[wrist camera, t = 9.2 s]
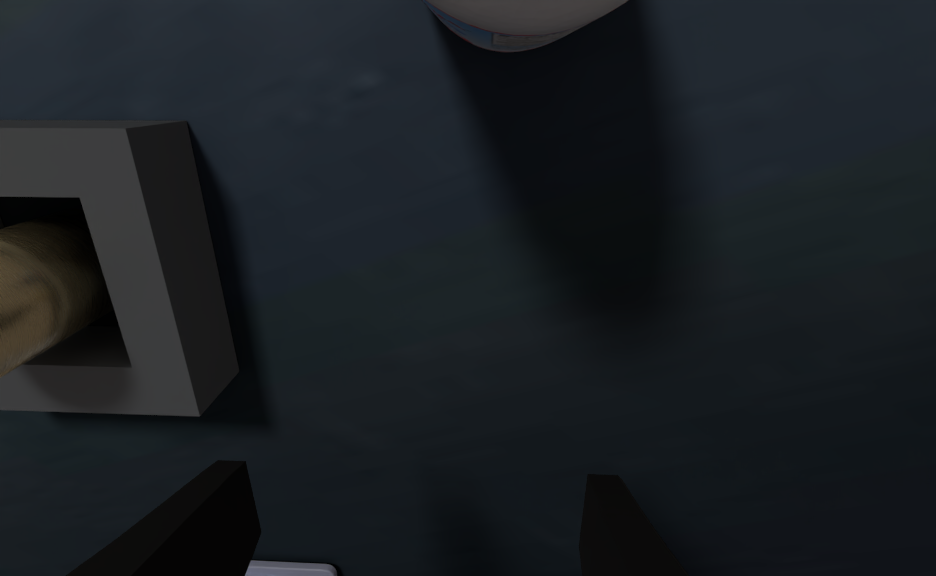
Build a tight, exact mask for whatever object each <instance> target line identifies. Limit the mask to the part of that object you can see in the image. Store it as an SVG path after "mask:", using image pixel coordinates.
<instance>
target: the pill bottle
mask: <svg viewBox="0 0 936 576" xmlns="http://www.w3.org/2000/svg"><path fill="white" fill-rule="evenodd" d="M422 1H423V2H424V3H425V4H426V5H427V7H428V8H429V9H430V10H431V11H432V12H433V13H434V14H435V15H436V16H437V17H438V18H439V20H441V21H442V23H443V24H444V25H446V26H447V27H448V28H449V29H450V30H451V31H452V32H454V33H455V34H456V35H457V36H459V37H461V38H462V39H464V40H465V41H467V42H469V43H471V44H473V45H476V46H478V47H480V48H484V49H487V50H492V51H498V52H519V51H525V50H530V49H534V48H538V47H541V46H544V45H547V44H549V43H552V42H554V41H556V40H558V39H560V38H562V37H564V36H566V35H568V34H570V33H572V32H574V31H576V30H577V29H579V28H581V27H583V26H585V25H587V24H589V23H591V22H592V21H595V20H596V19H598V18H600V17H602V16H604V15H606V14H607V13H609V12H611V11H613V10H615V9H616V8H618V7H619V6H621V5H622V4H624V3H625V2H627V1H628V0H422Z"/></svg>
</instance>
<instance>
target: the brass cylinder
mask: <svg viewBox="0 0 936 576" xmlns="http://www.w3.org/2000/svg"><path fill="white" fill-rule="evenodd" d="M113 310H114V307H113V304H112V301H111V298H110V294H109V291H108V288H107V285H106V281H105V278H104V275H103V272H102V269H101V265H100V262H99V259H98V256H97V252H96V249H95V246H94V243H93V239H92V236H91V233H90V230H89V227H88V223H87V220H86V217H85V214H84V210H82V209H67V210H63V211H59V212H56V213H53V214H49V215H46V216H43V217H39V218H36V219H33V220H29V221H26V222H23V223H19V224H16V225H13V226H9V227H6V228H3V229H0V378H1V377H2V376H4V375H6V374H7V373H9V372H11V371H12V370H14V369H16V368H17V367H19V366H21V365H22V364H24V363H26V362H27V361H29V360H31V359H32V358H34V357H36V356H37V355H39V354H41V353H42V352H44V351H46V350H47V349H49V348H51V347H52V346H54V345H56V344H57V343H59V342H61V341H62V340H64V339H66V338H67V337H69V336H71V335H72V334H74V333H76V332H77V331H79V330H81V329H82V328H84V327H86V326H87V325H89V324H91V323H92V322H94V321H96V320H97V319H99V318H101V317H103V316H104V315H106V314H108V313H109V312H111V311H113Z"/></svg>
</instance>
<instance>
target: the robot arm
mask: <svg viewBox="0 0 936 576" xmlns="http://www.w3.org/2000/svg"><path fill="white" fill-rule="evenodd" d="M260 534H261V528H260V524H259V519H258V515H257V510H256V506H255V501H254V497H253V492H252V488H251V483H250V479H249V475H248V470H247V466H246V461H222V460H218V461H216V462H215V463H214V464H212V465H211V466H209V467H208V468H207V469H205V470H204V471H203V472H202V473H200V474H199V475H198V476H196V477H195V478H194V479H192V480H191V481H190V482H189V483H187V484H186V485H185V486H184V487H182V488H181V489H180V490H179V491H177V492H176V493H175V494H173V495H172V496H171V497H170V498H168V499H167V500H166V501H165V502H163V503H162V504H161V505H160V506H158V507H157V508H156V509H154V510H153V511H152V512H151V513H149V514H148V515H147V516H145V517H144V518H143V519H141V520H140V521H139V522H138V523H136V524H135V525H134V526H132V527H131V528H130V529H129V530H127V531H126V532H125V533H123V534H122V535H121V536H120V537H118V538H117V539H116V540H114V541H113V542H112V543H110V544H109V545H107V546H106V547H105V548H103V549H102V550H101V551H99V552H98V553H96V554H95V555H94V556H92V557H91V558H89V559H88V560H87V561H85V562H84V563H83V564H81V565H80V566H78V567H77V568H76V569H74V570H73V571H72V572H70V573H69V574H67V575H66V576H337V571H336V569H335V568H334V567H333V566H332V565H329V564H318V563H297V562H276V561H255V560H251V559H252V556H253V554H254V551H255V548H256V545H257V543H258V540H259V537H260ZM579 551H580V559H581V568H582V576H689V575H688V574H687V572H686V571H685V570H684V568H683V567H682V566H681V564H680V563H679V562H678V560H677V559H676V558H675V556H674V555H673V554H672V552H671V551H670V550H669V548H668V547H667V546H666V544H665V543H664V541H663V540H662V539H661V537H660V536H659V534H658V533H657V532H656V530H655V529H654V527H653V526H652V524H651V523H650V521H649V520H648V519H647V517H646V516H645V514H644V513H643V511H642V510H641V508H640V507H639V505H638V504H637V502H636V501H635V499H634V498H633V496H632V494H631V493H630V491H629V490H628V488H627V487H626V485H625V483H624V482H623V480H622V479H621V478H620V477H619V476H618V475H595V474H588V476H587V484H586V492H585V500H584V509H583V517H582V525H581V533H580V542H579Z"/></svg>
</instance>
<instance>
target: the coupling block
mask: <svg viewBox="0 0 936 576" xmlns="http://www.w3.org/2000/svg"><path fill="white" fill-rule="evenodd" d="M0 197H79V198H80V201H81V204H82V207H83V210H84V214H85V217H86V220H87V223H88V227H89V230H90V233H91V236H92V239H93V243H94V246H95V249H96V252H97V256H98V259H99V262H100V265H101V269H102V272H103V275H104V278H105V281H106V285H107V288H108V291H109V294H110V298H111V301H112V304H113V307H114V311H115V314H116V317H117V320H118V324H119V327H117V326H86V327H84V328H82V329H81V330H79V331H77V332H76V333H74V334H72V335H71V336H69V337H67V338H66V339H64V340H62V341H61V342H59V343H57V344H56V345H54V346H52V347H51V348H49V349H47V350H46V351H44V352H42V353H41V354H39V355H37V356H36V357H34V358H32V359H31V360H29V361H27V362H26V363H24V364H22V365H21V366H19V367H17V368H16V369H14V370H12V371H11V372H9V373H7V374H6V375H4V376H2V377H1V378H0V410H19V411H49V412H80V413H110V414H140V415H170V416H201V415H202V414H203V412H204V411H205V410H206V409H207V408H208V407H209V406H210V404H211V403H212V402H213V401H214V400H215V399H216V398H217V397H218V395H219V394H220V393H221V392H222V391H223V390H224V389H225V387H226V386H227V385H228V384H229V383H230V382H231V381H232V379H233V378H234V377H235V376H236V375H237V374H238V373H239V367H238V362H237V358H236V353H235V348H234V344H233V339H232V334H231V329H230V325H229V320H228V315H227V310H226V306H225V301H224V296H223V291H222V287H221V282H220V277H219V273H218V268H217V263H216V258H215V254H214V249H213V244H212V239H211V235H210V230H209V225H208V221H207V216H206V211H205V206H204V202H203V197H202V192H201V187H200V183H199V178H198V173H197V169H196V164H195V159H194V154H193V150H192V145H191V140H190V135H189V131H188V126H187V121H140V120H0ZM3 228H4V225H3V223H2V220H1V218H0V229H3Z"/></svg>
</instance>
